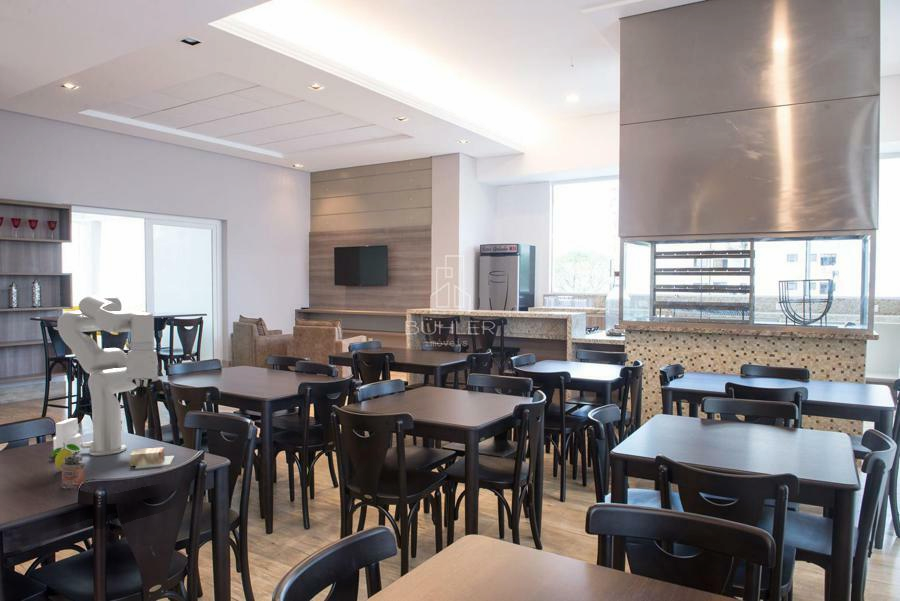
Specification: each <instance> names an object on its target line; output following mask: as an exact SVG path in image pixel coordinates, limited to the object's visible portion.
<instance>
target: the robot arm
mask: <svg viewBox="0 0 900 601" xmlns="http://www.w3.org/2000/svg"><path fill="white" fill-rule="evenodd" d="M57 331H58V334H59V337H60V338H61V340H62V341H63V342H64V343H65V345H67V346H68V348H69V349H70V350H71V351H72V352H73V354H74V356H75V358H76V360H77V361H78V363H79V365H80V366H81V368H82V369H83V371H84V372H85V373H87V374H89V375H90V376H89V377H88V380H87V384H88V389H89V393H90V399H91V413H92V414H91V415H92V416H91V417H92V418H91V420H92V440H91V441H87V442H86V441H85V442H81V449H88V454H89V455H90V456H97V457H98V456H99V457H100V456H109V455H114V454H119V453H121V452H124V451H126V450H127V445H126V444H122V441H123V440H122V414H121V413H122V412H121V411H122V410H121V402H120V401H119V399H117V397H116V396H115V394H118V393H123V392H130V391H133V390H135V389H136V388H137V395H138V397H139V399H140V398H146V396H147V395H148V388H149V387H148V386H149V385H150V384H151V383H152V382H156V381H159V380H160V378H159V360H158V355H157V350H156V349H155V316H154V315H153V313H151V312H143V311H141V310H126V311H125V310H122V302H121V300H120V299H119V298H118V297H116V296H115V295H89V296H86V297H83V298H82V299H81V300H80V301H79V303H78V310H73V311H68V312H64V313H63V314H61V315H60V316H59V317H58V319H57ZM96 331H98V332H99V331H105V332H106V333H107V332H108V333H112V334H113V333H126V332H130V343H126V345H125V347H126V348H129V350H128V351H127V354H126V352H125V351H124V350H123V349H121V348H119V347H118V348H117V347H109V348H101V347H100V346H99V345H98V343H97V342H96V340H94V338H93V337H92V336H90V335H88V334H86V332H96ZM84 332H85V333H84ZM142 380H143V384H142Z"/></svg>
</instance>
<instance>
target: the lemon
mask: <svg viewBox="0 0 900 601" xmlns="http://www.w3.org/2000/svg"><path fill="white" fill-rule="evenodd" d="M63 444H64V442H63ZM64 445H65V444H64ZM66 446H67V448H68V449H70V450H75V451H77V450H80V449H79V447H78V446H76V445H74V444H68V445H66ZM62 448H63V447H62ZM62 448H57V449H55V450H54V449H53V451H52V453H51V455H50V458H52V457H55V459H54V464H55V467H56V468H57V469H59V470H62V467H61V463H65V458H64V457H66V456H72V455H74V453H72V452H71V451H70V450H67V449H65V446H64V449H62ZM61 449H62V450H61ZM60 450H61V451H60ZM56 454H57V455H56Z"/></svg>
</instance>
